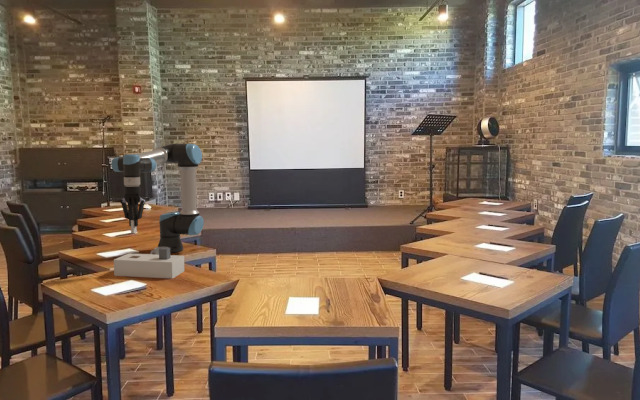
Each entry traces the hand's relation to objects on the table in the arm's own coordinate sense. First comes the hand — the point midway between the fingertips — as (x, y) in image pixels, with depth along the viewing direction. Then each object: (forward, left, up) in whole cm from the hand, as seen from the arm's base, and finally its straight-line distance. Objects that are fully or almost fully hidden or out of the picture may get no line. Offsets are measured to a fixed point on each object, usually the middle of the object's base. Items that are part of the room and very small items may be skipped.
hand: (133, 232), depth 237 cm
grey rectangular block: (0, +8, -20) cm, 22 cm away
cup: (-18, +4, -21) cm, 27 cm away
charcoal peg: (0, +16, -14) cm, 21 cm away
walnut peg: (0, 0, -19) cm, 19 cm away
